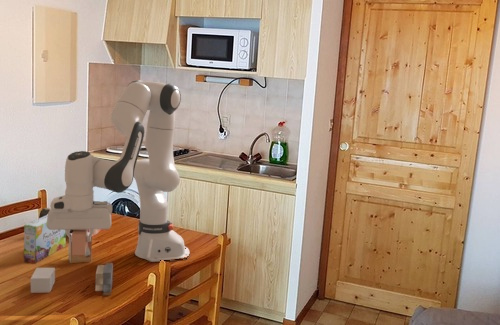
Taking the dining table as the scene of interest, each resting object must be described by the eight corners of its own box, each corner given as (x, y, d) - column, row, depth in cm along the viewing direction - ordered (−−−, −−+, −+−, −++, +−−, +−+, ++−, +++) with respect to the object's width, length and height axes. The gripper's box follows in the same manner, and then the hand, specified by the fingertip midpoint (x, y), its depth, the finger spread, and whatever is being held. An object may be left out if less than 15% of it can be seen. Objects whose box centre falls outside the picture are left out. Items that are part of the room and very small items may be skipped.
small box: (70, 263, 199) (70, 237, 197) (68, 258, 204) (68, 233, 202) (91, 261, 203) (92, 236, 201) (89, 256, 208) (89, 231, 206)
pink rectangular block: (87, 246, 177) (87, 226, 175) (85, 254, 169) (84, 234, 168) (75, 246, 176) (75, 226, 175) (72, 255, 168) (71, 234, 167)
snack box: (36, 264, 197) (36, 226, 194) (23, 262, 198) (22, 224, 195) (66, 246, 217) (67, 211, 214) (54, 244, 218) (54, 210, 215)
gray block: (54, 281, 180) (54, 267, 180) (49, 292, 172) (49, 278, 171) (36, 281, 179) (36, 267, 178) (30, 292, 171) (30, 278, 170)
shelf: (112, 282, 185) (113, 262, 183) (110, 295, 175) (110, 273, 174) (35, 283, 180) (35, 262, 178) (28, 296, 170) (28, 274, 169)
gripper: (112, 198, 174) (112, 237, 177) (48, 198, 170) (49, 238, 173) (111, 203, 168) (111, 244, 171) (45, 204, 164) (46, 245, 167)
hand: (79, 241), depth 172 cm, fingers closed on pink rectangular block, 4 cm apart
